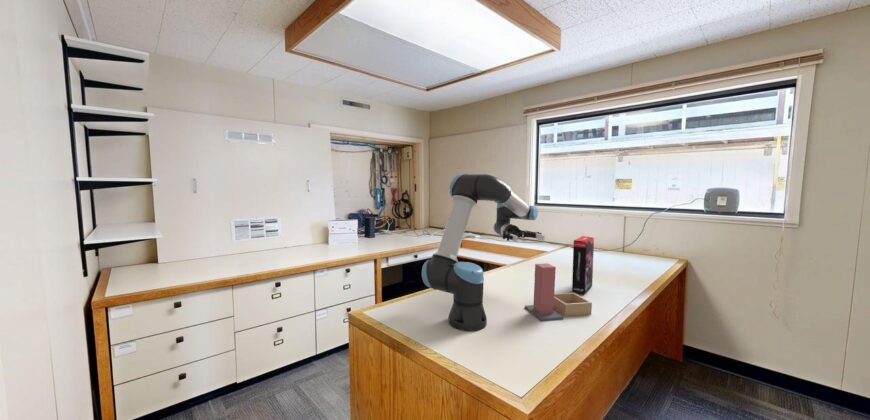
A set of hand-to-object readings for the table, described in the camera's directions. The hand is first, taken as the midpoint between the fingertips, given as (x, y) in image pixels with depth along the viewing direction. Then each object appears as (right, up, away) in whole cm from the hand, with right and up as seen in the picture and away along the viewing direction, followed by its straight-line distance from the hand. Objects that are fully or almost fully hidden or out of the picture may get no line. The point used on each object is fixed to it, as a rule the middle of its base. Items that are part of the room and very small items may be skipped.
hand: (530, 238), depth 151 cm
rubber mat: (+2, -31, -11) cm, 33 cm away
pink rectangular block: (+2, -30, -11) cm, 32 cm away
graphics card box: (+33, -29, +22) cm, 49 cm away
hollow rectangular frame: (+16, -31, -6) cm, 35 cm away
